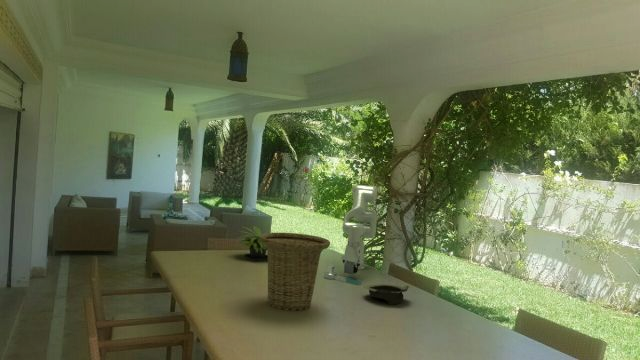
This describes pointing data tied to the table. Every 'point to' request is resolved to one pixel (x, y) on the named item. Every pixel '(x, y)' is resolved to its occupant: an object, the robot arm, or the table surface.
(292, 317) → the table surface
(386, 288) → the stone bowl
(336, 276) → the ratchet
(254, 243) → the fern plant
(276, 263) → the wicker basket
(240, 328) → the table surface
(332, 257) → the table surface
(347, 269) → the brushed grey cube
